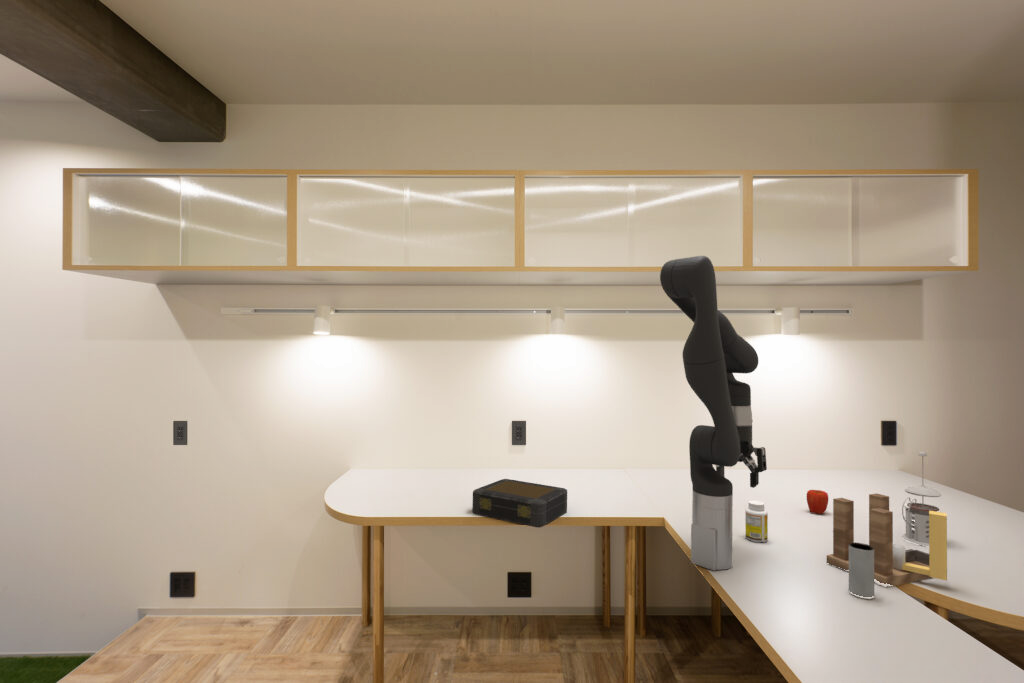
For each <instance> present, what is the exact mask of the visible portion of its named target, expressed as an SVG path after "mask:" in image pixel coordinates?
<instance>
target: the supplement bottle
mask: <svg viewBox="0 0 1024 683" xmlns="http://www.w3.org/2000/svg"><path fill="white" fill-rule="evenodd" d="M765 508H766V507H765V503H764V502H762V501H759V500H749V501H748V507H746V509H745V512H744V513H745V538H746V539H747V540H748V541H750V540H751V541H750V542H753V541H755V542H754V543H759V542H763V543H766V542H767V541H768V536H769V535H768V534H769V533H768V529H769V528H768V522H769V521H768V520H769V519H768V511H767V510H766V509H765Z"/></svg>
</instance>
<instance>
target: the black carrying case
mask: <svg viewBox="0 0 1024 683" xmlns="http://www.w3.org/2000/svg"><path fill="white" fill-rule="evenodd" d="M471 511H472V514H474V515H477V516H481V517H485V518H489V519H490V518H491V519H496V520H500V521H505V522H509V523H514V524H519V525H524V526H527V527H534V528H538V529H539V528H543V527H545V526H546V525H548V524H550V523H551V522H553V521H555V520H557V518H559V517H561V516H563V515H564V514H567V512H568V489H567V488H564V487H560V486H552V485H547V484H546V485H545V484H541V483H534V482H529V481H528V482H527V481H521V480H516V479H515V480H514V479H509V478H503V479H499V480H497V481H494V482H491V483H489V484H486V485H483V486H481V487H478V488H475V489H474V490H473V491H472V510H471Z"/></svg>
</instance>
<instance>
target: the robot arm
mask: <svg viewBox="0 0 1024 683" xmlns="http://www.w3.org/2000/svg"><path fill="white" fill-rule="evenodd" d="M659 279H660V280H659V282H660V286H661V288H662V289H663V292H664V293H665V294H666V295H667V297H668V298H669V299H670V300H671V301H672V302H673V303H674V304H675V305H676V306H677V307H678V308H679V309H680V311H682V312H683V314H685V316H687V318H689V319H690V320H691V321H692V322H693V326H692V328H691V331H690V333H689V335H688V336H687V338H686V341H685V343H684V346H683V350H682V362H683V368H684V369H683V370H684V373H685V379H686V381H687V383H688V385H689V387H690V388H691V390H692V391H693V392H694V394H695V395H696V396H697V397H698V399H699V400H700V401H701V402H702V404H703V405H704V406H705V407H706V408H707V411H708V413H709V414H710V416H711V419H712V422H713V425H704V424H703V425H702V424H700V425H696V426H695V427H694V428H692V430H691V433H690V436H689V443H688V444H689V445H688V446H689V447H688V448H689V467H690V468H689V469H690V470H689V472H690V481H691V484H692V502H691V503H692V506H691V508H692V509H691V510H692V511H691V512H692V513H691V520H692V521H691V526H690V531H691V532H690V563H691V564H694V565H697V566H699V567H701V568H705V569H708V570H712V571H719V570H720V571H721V570H729V569H730V568H732V566H733V506H734V503H733V500H734V499H733V498H734V497H733V495H734V492H733V491H734V490H733V483H732V481H731V480H729V478H726V477H725V467H729V468H731V467H734V466H735V465H737V464H738V463H743V464H744V465H745V466H746V467H747V468H748V470H749V471H750V473H749V477H750V478H749V487H750V488H752V489H753V488H756V487H757V486H758V485H759V484H760V482H759V481H760V480H759V479H760V478H759V475H760V474H759V473H762V472H766V471H767V469H768V468H767V465H768V464H767V455H766V454H767V453H766V448H765V447H764V446H760V447H757V446H755V447H754V445H753V413H752V412H753V411H752V399H751V398H752V395H751V394H752V393H751V392H752V390H751V386H750V385H749V384H748V383H746V382H742V381H740V380H738V379H737V378H735V375H734V374H750V373H752V372H755V371H756V369H757V367H758V365H759V356H758V353H757V351H756V350H755V348H754V346H752V344H750V343H749V342H748V341H747V340H745V338H743V337H742V336H741V335H739V334H738V333H737V331H736V330H735V328H734V326H733V325H732V323H731V320H729V318H728V317H727V316H726V315H725V314H724V313H723V312H721V311H720V310H719V309H718V297H717V295H718V294H717V291H718V290H717V280H716V279H717V278H716V272H715V269H714V265H713V262H712V261H711V259H710V258H709V257H708V256H706V255H696V256H690V257H683V258H676V259H671V260H668V261H666V262H665V263H664V264H663V266H661V270H660V274H659ZM753 453H754V455H755V456H756V461H755V459H754V457H753V456H752V454H753ZM714 465H715V467H716V468H715V467H714Z"/></svg>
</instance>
